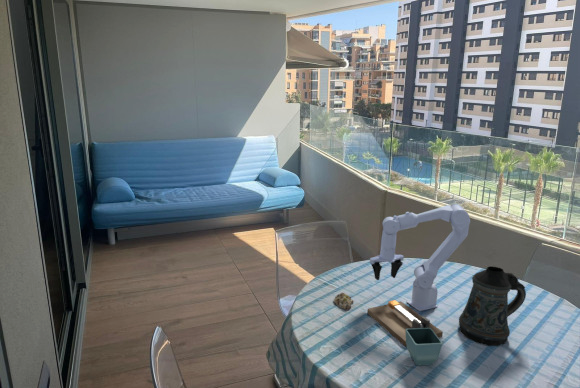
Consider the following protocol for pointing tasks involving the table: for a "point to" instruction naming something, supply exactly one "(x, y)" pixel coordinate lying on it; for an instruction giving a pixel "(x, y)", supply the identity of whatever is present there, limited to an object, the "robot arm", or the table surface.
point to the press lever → (403, 312)
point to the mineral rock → (343, 301)
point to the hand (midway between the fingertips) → (385, 278)
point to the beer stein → (490, 306)
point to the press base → (399, 321)
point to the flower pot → (423, 345)
